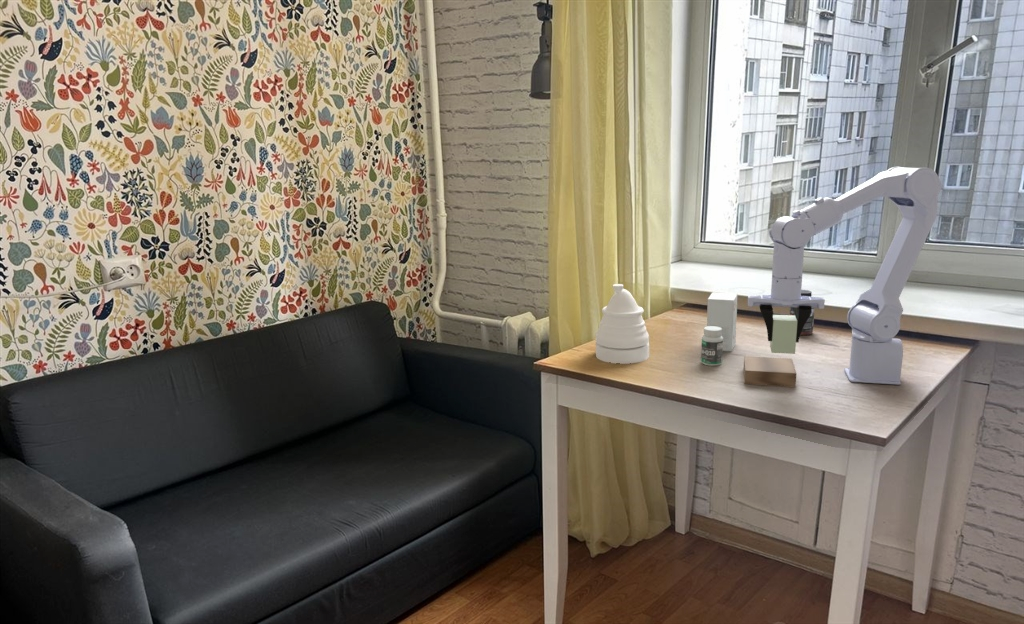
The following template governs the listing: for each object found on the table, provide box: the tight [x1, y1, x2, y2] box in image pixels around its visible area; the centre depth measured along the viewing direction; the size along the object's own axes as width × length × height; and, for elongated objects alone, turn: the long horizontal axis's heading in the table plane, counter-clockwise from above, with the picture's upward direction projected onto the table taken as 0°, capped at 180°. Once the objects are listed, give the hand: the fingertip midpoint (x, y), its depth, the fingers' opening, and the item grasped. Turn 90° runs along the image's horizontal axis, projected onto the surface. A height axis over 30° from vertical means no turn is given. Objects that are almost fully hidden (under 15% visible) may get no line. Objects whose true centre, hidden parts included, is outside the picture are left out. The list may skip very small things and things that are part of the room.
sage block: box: [769, 314, 797, 355], centre depth 139 cm, size 4×4×7 cm
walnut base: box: [743, 355, 797, 388], centre depth 145 cm, size 10×10×3 cm
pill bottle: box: [700, 325, 724, 367], centre depth 155 cm, size 5×5×8 cm
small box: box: [706, 291, 738, 352], centre depth 167 cm, size 8×6×13 cm
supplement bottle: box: [789, 289, 815, 336], centre depth 176 cm, size 6×6×11 cm
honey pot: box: [595, 283, 650, 365], centre depth 162 cm, size 13×13×18 cm
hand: (782, 340), depth 140 cm, fingers closed on sage block, 4 cm apart
